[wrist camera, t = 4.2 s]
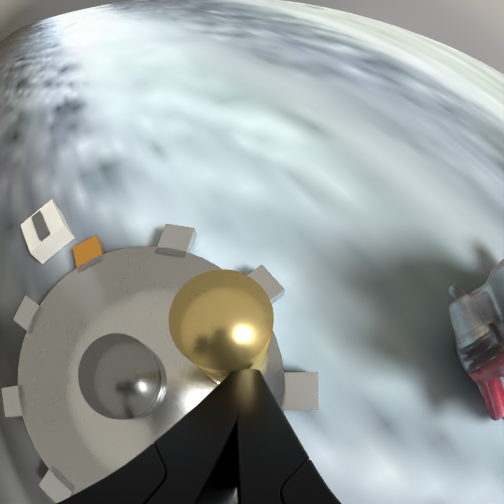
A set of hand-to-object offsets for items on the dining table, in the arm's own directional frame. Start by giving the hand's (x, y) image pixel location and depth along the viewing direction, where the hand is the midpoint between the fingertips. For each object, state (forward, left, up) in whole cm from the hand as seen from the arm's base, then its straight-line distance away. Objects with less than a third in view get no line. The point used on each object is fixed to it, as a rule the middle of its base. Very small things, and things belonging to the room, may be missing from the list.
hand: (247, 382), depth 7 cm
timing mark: (+5, +16, -8) cm, 19 cm away
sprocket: (-1, +6, -8) cm, 10 cm away
